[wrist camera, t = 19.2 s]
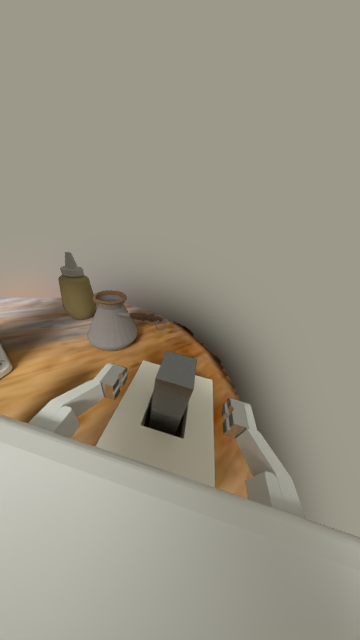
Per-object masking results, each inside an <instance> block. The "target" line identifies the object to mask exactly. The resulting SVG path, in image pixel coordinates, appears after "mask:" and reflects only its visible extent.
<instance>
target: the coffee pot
mask: <svg viewBox="0 0 360 640" xmlns="http://www.w3.org/2000/svg"><path fill="white" fill-rule="evenodd" d="M125 300H126V295H125V294H123V293H122V292H118V291H102V292H98V293H96V294H95V295H94V296H93V301H94V302H95V303H96V304H97V305H98V307H97V310H96V313H95V315H94V318H93V321H92V323H91V326H90V329H89V331H88V340H89V342H90V343H91V344H92V345H93V346H95V347H96V348H98V349H101V350H106V351H117V350H120V349H123V348H125V347H127V346H128V345H130V344H131V343H132V342H133V341H134V340H135V338H136V336H137V334H138V330H137V327H136V325H135V324H134V322H133V320H132V318H134V319H138V320H142V321H144V320H149V321H150V322H153V321H156V329H158V328H157V323H158V322H159V321H162V318H160V317H158V316H156V317H155V316H154V315H150V316H149V315H146V314H138V313H131V314H130V313H128V311H127V309H126V308H125V306H124V301H125ZM163 320H164V321H165V319H163ZM165 326H166V321H165ZM165 326H164V327H163V328H162V329H158V330H163V329H164V328H165Z"/></svg>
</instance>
